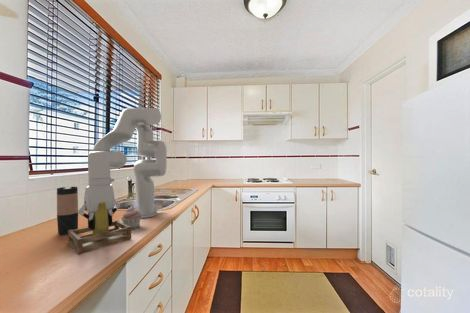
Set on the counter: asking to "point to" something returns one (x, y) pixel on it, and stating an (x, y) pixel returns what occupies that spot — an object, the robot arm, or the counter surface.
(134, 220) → the cupcake
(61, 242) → the counter surface
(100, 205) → the vase
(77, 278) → the counter surface
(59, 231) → the travel mug
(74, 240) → the tray
